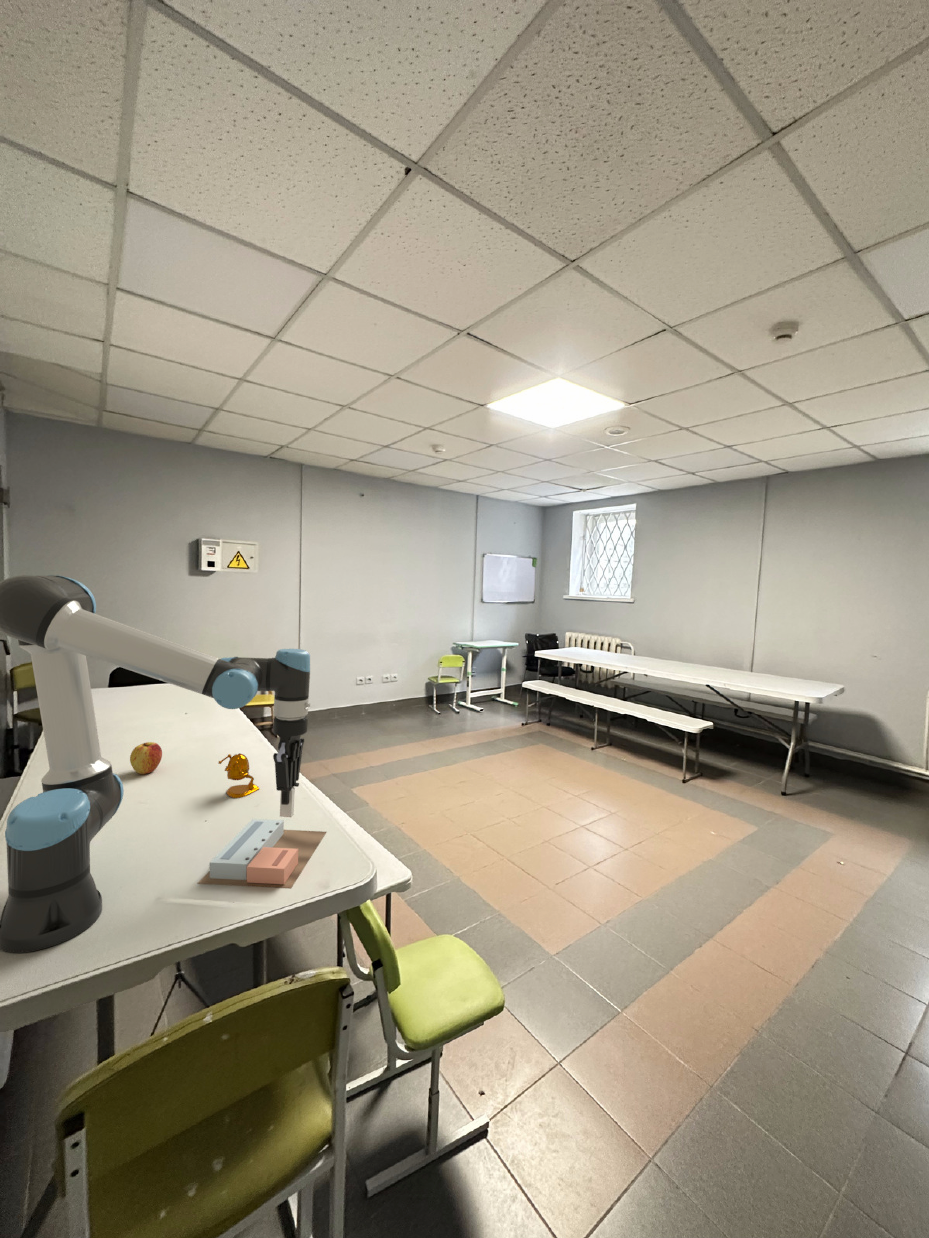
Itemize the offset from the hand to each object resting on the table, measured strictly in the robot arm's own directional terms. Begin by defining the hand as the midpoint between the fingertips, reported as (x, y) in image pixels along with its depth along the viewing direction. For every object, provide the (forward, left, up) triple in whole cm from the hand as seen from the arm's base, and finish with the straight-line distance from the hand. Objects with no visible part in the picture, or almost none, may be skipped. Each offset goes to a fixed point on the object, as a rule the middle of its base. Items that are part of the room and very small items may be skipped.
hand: (286, 815), depth 116 cm
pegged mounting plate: (-1, +8, -10) cm, 13 cm away
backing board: (-1, +4, -10) cm, 11 cm away
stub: (-8, 0, -9) cm, 12 cm away
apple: (+46, +66, -10) cm, 81 cm away
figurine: (+34, +28, -10) cm, 45 cm away
